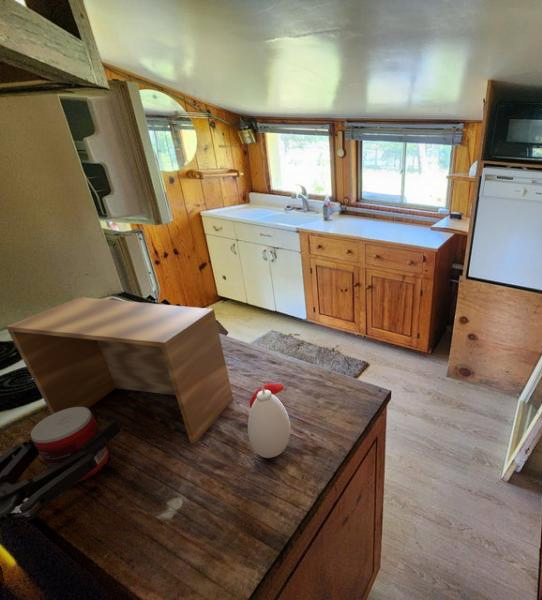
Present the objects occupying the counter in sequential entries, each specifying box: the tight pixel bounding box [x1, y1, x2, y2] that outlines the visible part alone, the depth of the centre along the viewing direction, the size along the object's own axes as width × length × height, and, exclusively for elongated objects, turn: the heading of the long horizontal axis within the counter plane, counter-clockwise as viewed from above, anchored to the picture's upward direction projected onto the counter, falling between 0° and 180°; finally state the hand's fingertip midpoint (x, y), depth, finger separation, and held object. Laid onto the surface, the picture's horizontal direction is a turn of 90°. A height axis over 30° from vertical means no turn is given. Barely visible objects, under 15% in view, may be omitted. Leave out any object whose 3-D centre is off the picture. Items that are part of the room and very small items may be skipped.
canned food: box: [30, 407, 110, 482], centre depth 59 cm, size 8×8×11 cm
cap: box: [249, 382, 285, 409], centre depth 77 cm, size 8×6×6 cm
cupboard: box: [5, 296, 234, 445], centre depth 71 cm, size 32×14×25 cm, turn 84°
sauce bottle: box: [247, 382, 291, 459], centre depth 64 cm, size 8×8×18 cm
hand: (97, 423), depth 63 cm, fingers closed on canned food, 8 cm apart
